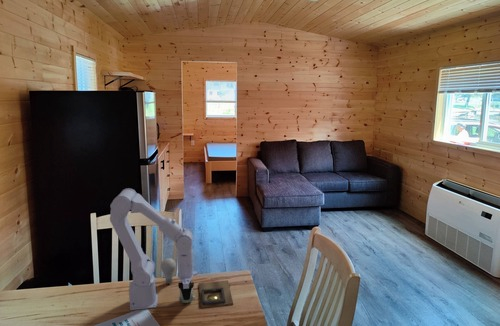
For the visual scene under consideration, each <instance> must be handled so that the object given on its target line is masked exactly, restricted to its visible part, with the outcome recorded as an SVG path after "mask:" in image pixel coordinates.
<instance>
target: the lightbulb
mask: <svg viewBox="0 0 500 326" xmlns="http://www.w3.org/2000/svg"><path fill="white" fill-rule="evenodd" d="M176 267H177V264H176V260H174V259H173V258H171V257H169V258H164V259H163V260H162V261H161V263H160V270H161V271H162V273H163V274H164V278H165V282H166V284H169V285H170V284H172V283H173V277H174V275H173V274H174V273H175V271H176Z"/></svg>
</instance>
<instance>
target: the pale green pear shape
mask: <svg viewBox="0 0 500 326" xmlns="http://www.w3.org/2000/svg"><path fill="white" fill-rule="evenodd" d="M193 290H194V287H193V288H192V290H191V295H190V299H189V300H184V299H183V296H182V292H181V290H180V289H179V296H178V300H179V301H180V302H181V303H183V304H187V303H191V302H192V301H193V300H195V295H194V291H193Z"/></svg>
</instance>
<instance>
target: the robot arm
mask: <svg viewBox="0 0 500 326" xmlns="http://www.w3.org/2000/svg"><path fill="white" fill-rule="evenodd" d="M129 212H130V214H139V213H140V214H142V215H143V216H145V217H146V218H148V219H149V220H150V221H152V222H153V223H154V224H155V225H158V230H159V231H160V232H161V233H162V234H164V235H165V236H166V237H167V238H168V239H170V240H171V241H172V242H174V245H175V247H176V249H177V251H176V252H177V253H176V257H177V260H176V261H177V278H178V279H179V280H180V282H178V289H179V291H180V290H181V292H182V296H183V299H184V300H189V299H190V295H191V290H192V288H193V289H194V285H195V282H192V279H193V277H194V276H197V275H198V274H197V273H198V271H196V270H194V250H193V239H194V234H193V232H192V231H191V230H190V229H189V228H185V227H182V226H181V225H180V224H179V223H177V220H176V219H175V218H171V217H165V216H164V215H163V214H161V212H159V211H158V210H157V209H156V208H154V207H153V206H152V205H151V204H150V203H149V202H148V201H147V200H146V199H145V198H144V197H143V196H142V194H141V193H137V192H136V190H135V189H133V188H129V187H128V188H124V189H122V191H121V192H120V193H119V194H118V195H117V196H116V197H115V198H113V200H112V202H111V203H110V215H109V221H110V223H111V225H112V227H113V230H114V231H115V234H116V235H117V237H118V239H119V241H120V243H121V245H122V247H123V249H124V251H125V253H126V255H127V257H128V259H129V261H130V270H131V271H130V272H131V274H132V281H130V282H129V286H128V296H129V310H130V311H134V310H135V311H136V310H145V309H155V308H157V306H158V298H159V294H157V291H156V290H157V289H156V277H155V275H154V272H155V271H156V263H155V262H154V261H153V260H152V259H150V256H149V255H148V254H145V252H144V251H143V248H142V247H141V244H140V242H139V240H138V238H137V236H136V234H135V232H134V230H133V228H132V226H131V224H130V222H129V220H128V218H127V216H128V214H129Z"/></svg>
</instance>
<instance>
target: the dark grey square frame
mask: <svg viewBox="0 0 500 326" xmlns="http://www.w3.org/2000/svg"><path fill="white" fill-rule="evenodd" d="M212 292H221V293H222V298H223V299H219V295H217V294H210V295H208V301H205V297H204V293H212ZM202 301H203V305H209V304H219V303H225V295H224V290H223V288H213V289H203V290H202Z"/></svg>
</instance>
